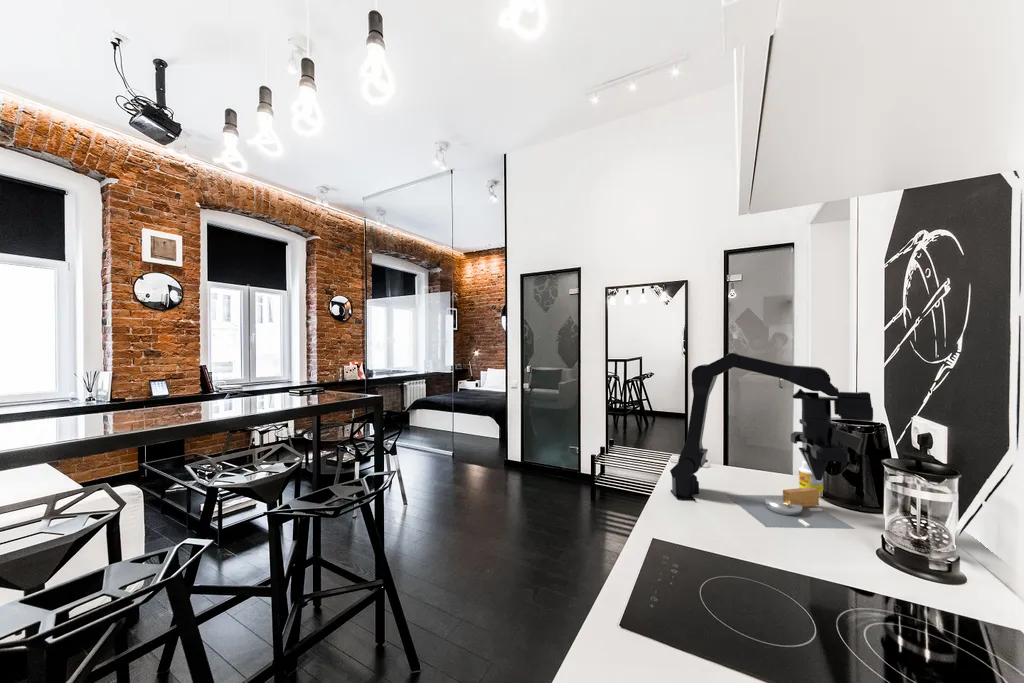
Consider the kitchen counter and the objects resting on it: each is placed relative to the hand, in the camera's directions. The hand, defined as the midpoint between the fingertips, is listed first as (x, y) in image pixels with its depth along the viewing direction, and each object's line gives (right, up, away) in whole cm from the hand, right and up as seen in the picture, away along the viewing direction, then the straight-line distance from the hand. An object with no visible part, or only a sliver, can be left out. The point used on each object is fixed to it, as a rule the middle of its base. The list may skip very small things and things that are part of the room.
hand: (818, 479), depth 95 cm
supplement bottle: (+11, -11, +16) cm, 23 cm away
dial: (-2, -10, +6) cm, 12 cm away
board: (-5, -11, +5) cm, 13 cm away
